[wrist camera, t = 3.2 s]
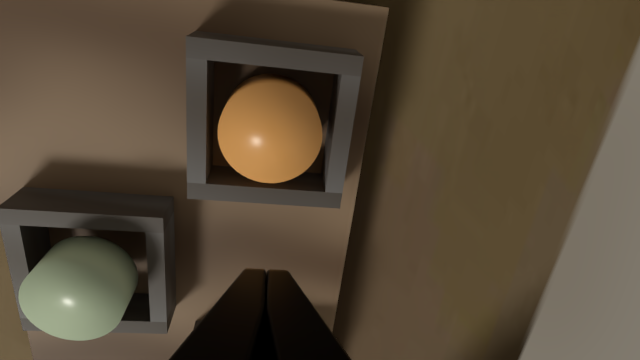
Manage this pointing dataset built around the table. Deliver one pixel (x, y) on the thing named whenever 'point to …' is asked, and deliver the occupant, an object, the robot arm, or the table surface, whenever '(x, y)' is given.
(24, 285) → the sage button
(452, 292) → the table surface
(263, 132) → the orange button
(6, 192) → the console
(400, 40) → the table surface
